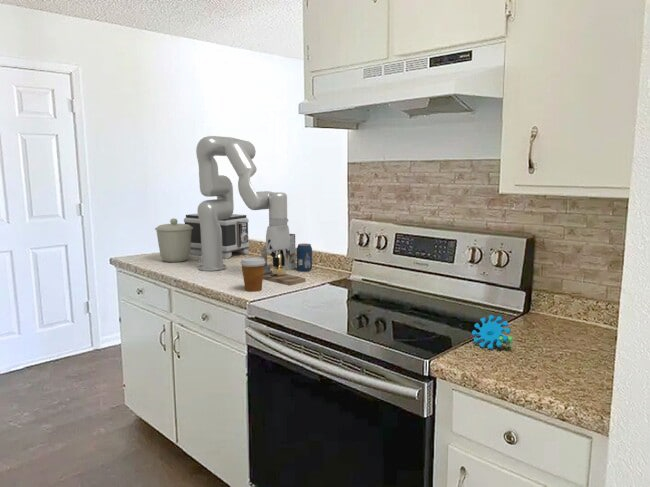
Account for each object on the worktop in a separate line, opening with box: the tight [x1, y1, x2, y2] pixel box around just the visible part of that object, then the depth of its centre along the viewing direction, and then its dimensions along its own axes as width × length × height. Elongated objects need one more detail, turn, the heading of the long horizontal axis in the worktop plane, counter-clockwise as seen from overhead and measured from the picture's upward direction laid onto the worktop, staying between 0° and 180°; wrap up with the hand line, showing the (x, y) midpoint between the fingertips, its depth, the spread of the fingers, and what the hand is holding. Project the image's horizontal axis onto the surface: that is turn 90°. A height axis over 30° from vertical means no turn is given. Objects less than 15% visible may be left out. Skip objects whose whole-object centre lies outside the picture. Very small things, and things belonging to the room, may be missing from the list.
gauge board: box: [260, 247, 306, 286], centre depth 214 cm, size 24×9×12 cm, turn 47°
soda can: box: [296, 243, 313, 273], centre depth 231 cm, size 7×7×12 cm
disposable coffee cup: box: [239, 256, 265, 293], centre depth 196 cm, size 10×10×12 cm
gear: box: [471, 314, 514, 350], centre depth 137 cm, size 11×6×10 cm
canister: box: [154, 217, 193, 263], centre depth 253 cm, size 18×18×21 cm
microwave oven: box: [183, 213, 251, 260], centre depth 272 cm, size 18×34×21 cm, turn 59°
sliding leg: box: [271, 253, 286, 276], centre depth 213 cm, size 4×6×9 cm, turn 138°
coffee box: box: [272, 233, 297, 271], centre depth 235 cm, size 9×6×16 cm
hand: (278, 265), depth 214 cm, fingers closed on sliding leg, 2 cm apart
